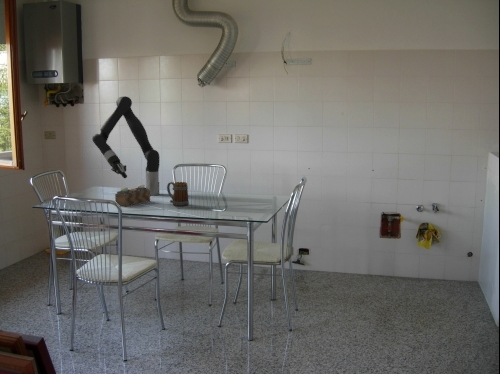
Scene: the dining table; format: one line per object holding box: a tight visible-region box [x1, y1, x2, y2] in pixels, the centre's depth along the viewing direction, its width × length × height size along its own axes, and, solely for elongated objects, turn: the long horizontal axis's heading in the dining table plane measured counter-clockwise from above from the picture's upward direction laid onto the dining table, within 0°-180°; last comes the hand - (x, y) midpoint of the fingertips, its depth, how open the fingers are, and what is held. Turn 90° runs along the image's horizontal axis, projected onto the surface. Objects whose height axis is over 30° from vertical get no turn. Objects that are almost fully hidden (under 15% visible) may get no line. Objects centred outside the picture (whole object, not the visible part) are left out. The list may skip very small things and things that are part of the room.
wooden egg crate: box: [114, 187, 151, 208], centre depth 333 cm, size 24×8×9 cm, turn 150°
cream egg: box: [137, 184, 146, 189], centre depth 339 cm, size 5×5×2 cm
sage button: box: [120, 187, 129, 192], centre depth 325 cm, size 5×5×2 cm
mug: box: [166, 181, 190, 208], centre depth 330 cm, size 16×11×15 cm
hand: (125, 177), depth 334 cm, fingers closed
